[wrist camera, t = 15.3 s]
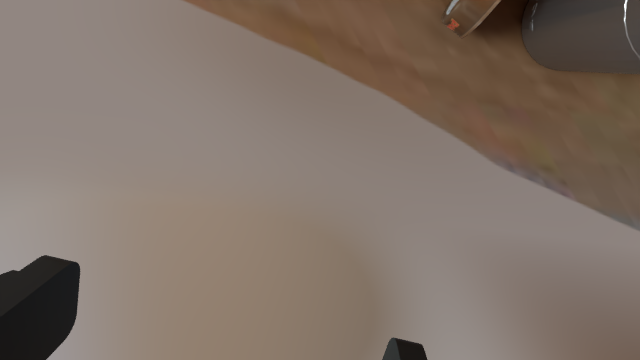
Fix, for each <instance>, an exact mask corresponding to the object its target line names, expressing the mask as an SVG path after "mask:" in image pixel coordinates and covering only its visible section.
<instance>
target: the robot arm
mask: <svg viewBox="0 0 640 360" xmlns="http://www.w3.org/2000/svg"><path fill="white" fill-rule="evenodd" d="M522 36H523V41H524V44H525V47H526V49H527V51H528V52H529V54H530V55H531V57H532V58H533V59H534V60H535V61H537V62H538V63H539V64H541V65H543V66H544V67H546V68H549V69H553V70H561V71H581V72H599V73H622V74H640V0H529V2H528V4H527V6H526V8H525V11H524V15H523V19H522ZM79 279H80V266H79V264H78V263H77V262H73V261H68V260H64V259H60V258H56V257H51V256H47V255H44V256H41V257H39V258H38V259H36V260H35V261H33V262H32V263H30V264H29V265H27V266H26V267H24V268H23V269H21V270H20V271H15V270H12V271H9V272H6V273H3V274H1V275H0V360H46V359H47V358H48V357H49V356H50V355H51V354H52V353H53V352H54V351H55V350H56V349H57V348H58V347H59V346H60V345H61V343H62V342H63V341H64V340H65V339H66V338H67V336H68V335H69V333H70V331H71V330H72V327H73V325H74V323H75V319H76V315H77V303H78V292H79ZM382 360H427V357H426V354H425V351H424V348H423V346H422V345H421V344H419V343H414V342H410V341H406V340H402V339H397V338H391V340H390V341H389V343H388V345H387V348H386V351H385V354H384V356H383V359H382Z"/></svg>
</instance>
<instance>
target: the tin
mask: <svg viewBox="0 0 640 360" xmlns="http://www.w3.org/2000/svg"><path fill="white" fill-rule="evenodd" d="M500 1H501V0H451V2H450V3H449V5H448V6H447V8H446V10H445V11H444V13H443V15H442V22H443V23H444V24H445V25H446V26H447V27H448V28H450V29H451V30H452V31H454V32H455V33H456V34H457V35H459V38H464V37H466V36H467V35H468V34H470V33H471V32H472V31H473V30H474V29H475V28H476V27H477V26H478V25H480V23H481V22H482V21H483V20H484V19H485V18H486V17H487V16H488V15H489V14H490V13H491V11H492V10H493V9H494V8H495V7H496V6H497V5H498V3H499V2H500Z"/></svg>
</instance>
